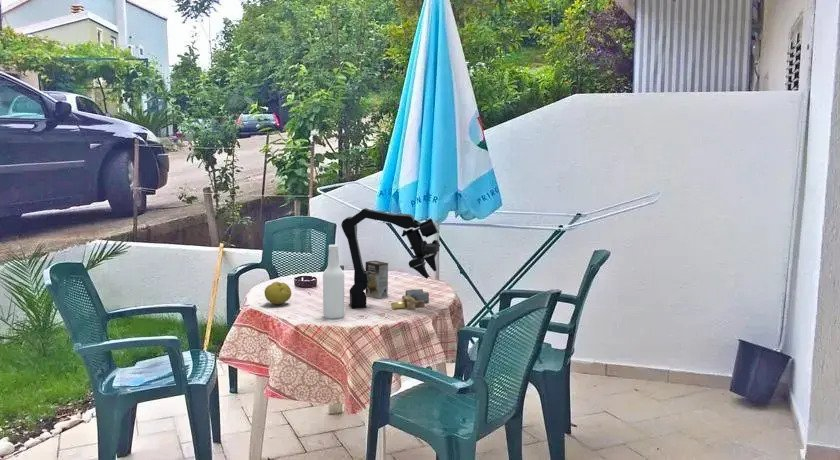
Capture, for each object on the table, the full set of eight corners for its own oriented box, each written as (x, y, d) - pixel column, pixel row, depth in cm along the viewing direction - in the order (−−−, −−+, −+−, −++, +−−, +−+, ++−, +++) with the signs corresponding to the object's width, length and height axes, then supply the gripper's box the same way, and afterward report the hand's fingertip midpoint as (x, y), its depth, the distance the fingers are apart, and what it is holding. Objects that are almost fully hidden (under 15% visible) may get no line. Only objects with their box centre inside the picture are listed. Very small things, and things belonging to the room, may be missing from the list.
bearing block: (408, 309, 316) (408, 299, 316) (402, 305, 324) (402, 295, 323) (415, 309, 317) (415, 299, 317) (408, 305, 325) (408, 295, 324)
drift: (413, 308, 320) (413, 302, 320) (411, 306, 322) (411, 301, 322) (424, 307, 322) (424, 301, 321) (422, 306, 324) (422, 300, 324)
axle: (393, 310, 316) (393, 303, 316) (391, 308, 319) (391, 301, 319) (412, 308, 320) (413, 301, 319) (410, 306, 322) (410, 300, 322)
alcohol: (319, 317, 302) (318, 246, 298) (329, 313, 310) (328, 242, 306) (338, 320, 299) (338, 247, 294) (348, 315, 307) (347, 244, 303)
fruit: (262, 303, 326) (261, 281, 325) (288, 300, 331) (287, 279, 330) (267, 308, 316) (266, 286, 315) (294, 306, 321) (293, 283, 319)
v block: (412, 304, 326) (412, 294, 325) (405, 300, 334) (405, 289, 333) (428, 303, 329) (429, 292, 328) (421, 298, 337) (421, 288, 336)
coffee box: (364, 295, 342) (364, 261, 340) (374, 293, 347) (374, 260, 344) (378, 299, 336) (378, 264, 333) (388, 296, 340) (388, 262, 338)
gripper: (423, 242, 304) (438, 276, 305) (440, 229, 320) (454, 262, 321) (401, 250, 309) (416, 283, 310) (419, 237, 325) (433, 269, 327)
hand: (431, 274), depth 317 cm, fingers open, 9 cm apart
